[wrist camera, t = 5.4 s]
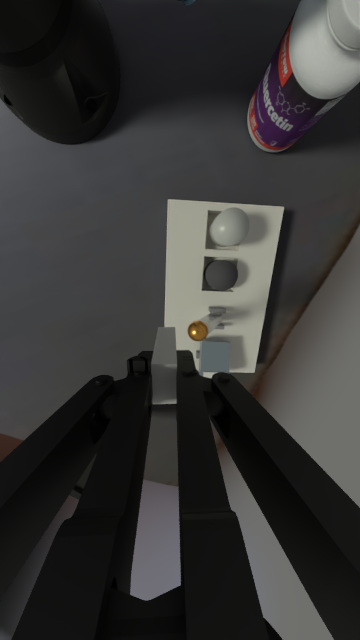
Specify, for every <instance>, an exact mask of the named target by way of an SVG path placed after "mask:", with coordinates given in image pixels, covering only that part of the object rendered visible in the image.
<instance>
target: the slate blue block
mask: <svg viewBox="0 0 360 640" xmlns="http://www.w3.org/2000/svg"><path fill="white" fill-rule="evenodd" d="M230 345H231V342H229V341H221V340H202V341H200V352H199V375H201V376H203V377H207V378H212V375H214V374H215V373H218V372H224V373H228V374H229V367H230Z"/></svg>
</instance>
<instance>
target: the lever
mask: <svg viewBox="0 0 360 640" xmlns="http://www.w3.org/2000/svg"><path fill="white" fill-rule="evenodd" d="M221 321H222V314H217V313H209V314H208V315H206V316H204V317H203V318H201V319H199V320H198V321H193V322H192V323H191V324H190V325H189V326H188V330H187V332H188V336H189V337H190V338H191V339H192V340H194V341H202V340H204V339H205V338H206V337H207V335H208V334H209V333H210V332H211V331H213V330H214V329H215V328H216V327H217V326H218V325H220V324H221Z"/></svg>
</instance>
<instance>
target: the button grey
mask: <svg viewBox="0 0 360 640" xmlns="http://www.w3.org/2000/svg"><path fill="white" fill-rule="evenodd" d="M248 231H249V219H248V216H247V214H246V213H245V212H244V211H243V210H242V209H240V208H237V207H231V208H227V209H225V210H224V211H222V212H221V213H220V214H219V215H218V216H217V217H216V218H215V219H214V220H213V221H212V223H211V225H210V229H209V235H210V238H211V240H212V242H213V243H214V244H215V245H217V246H220V247H227V246H231V245H235V244H238V243H240V242H241V241H243V240H244V238H245V237H246V236H247V234H248Z"/></svg>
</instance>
